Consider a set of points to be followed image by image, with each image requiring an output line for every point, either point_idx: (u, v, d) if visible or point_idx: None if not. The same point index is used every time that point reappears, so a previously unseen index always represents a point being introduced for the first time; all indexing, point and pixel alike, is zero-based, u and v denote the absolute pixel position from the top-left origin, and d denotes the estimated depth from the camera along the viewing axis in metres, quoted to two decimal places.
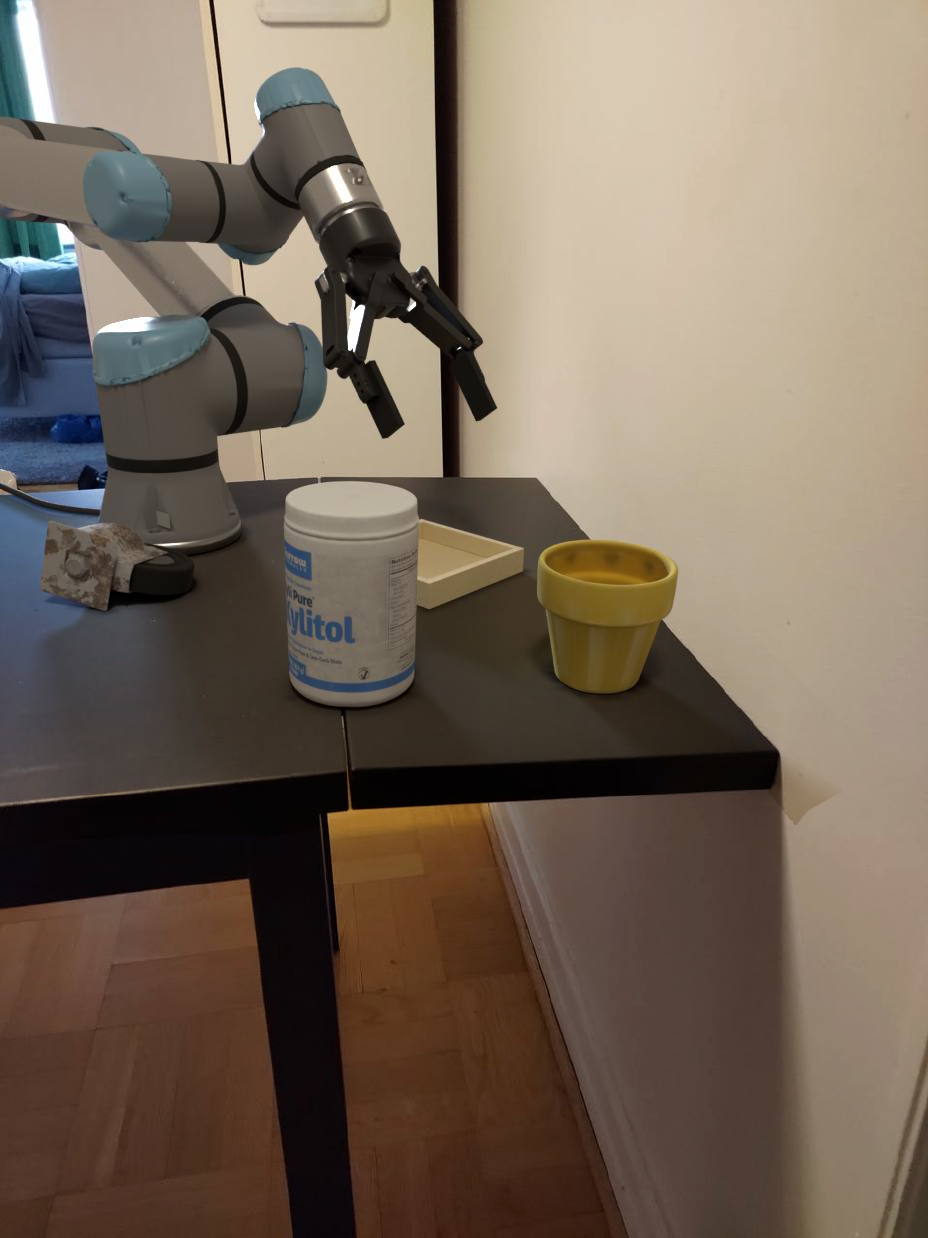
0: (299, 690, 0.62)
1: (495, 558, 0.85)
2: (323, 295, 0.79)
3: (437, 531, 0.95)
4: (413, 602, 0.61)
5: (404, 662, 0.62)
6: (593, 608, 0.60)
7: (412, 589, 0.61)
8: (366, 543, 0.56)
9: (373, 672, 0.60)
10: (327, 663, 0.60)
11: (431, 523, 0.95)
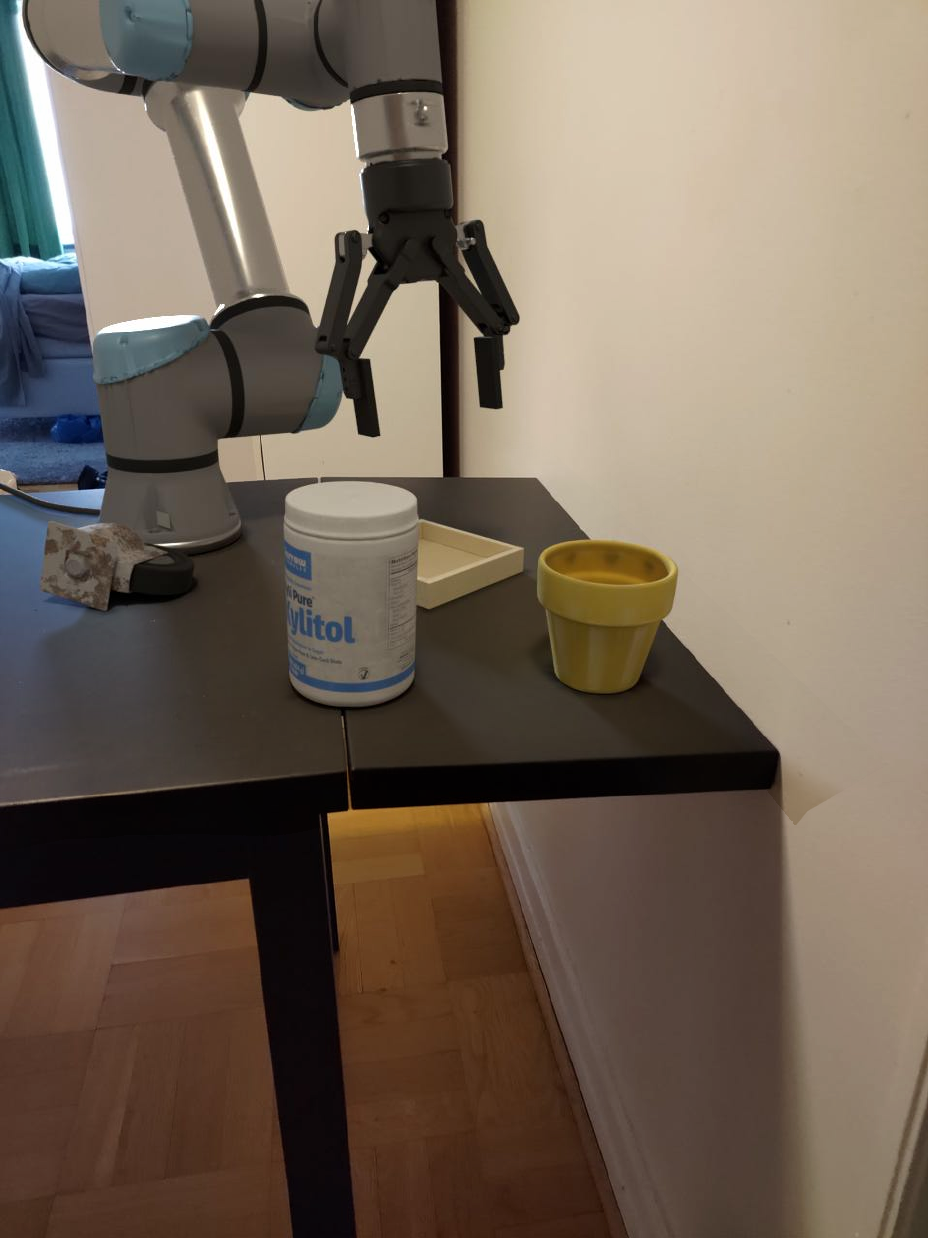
0: (299, 690, 0.62)
1: (495, 558, 0.85)
2: (338, 260, 0.70)
3: (437, 531, 0.95)
4: (413, 602, 0.61)
5: (404, 662, 0.62)
6: (593, 608, 0.60)
7: (412, 589, 0.61)
8: (366, 542, 0.56)
9: (373, 672, 0.60)
10: (327, 663, 0.60)
11: (431, 523, 0.95)
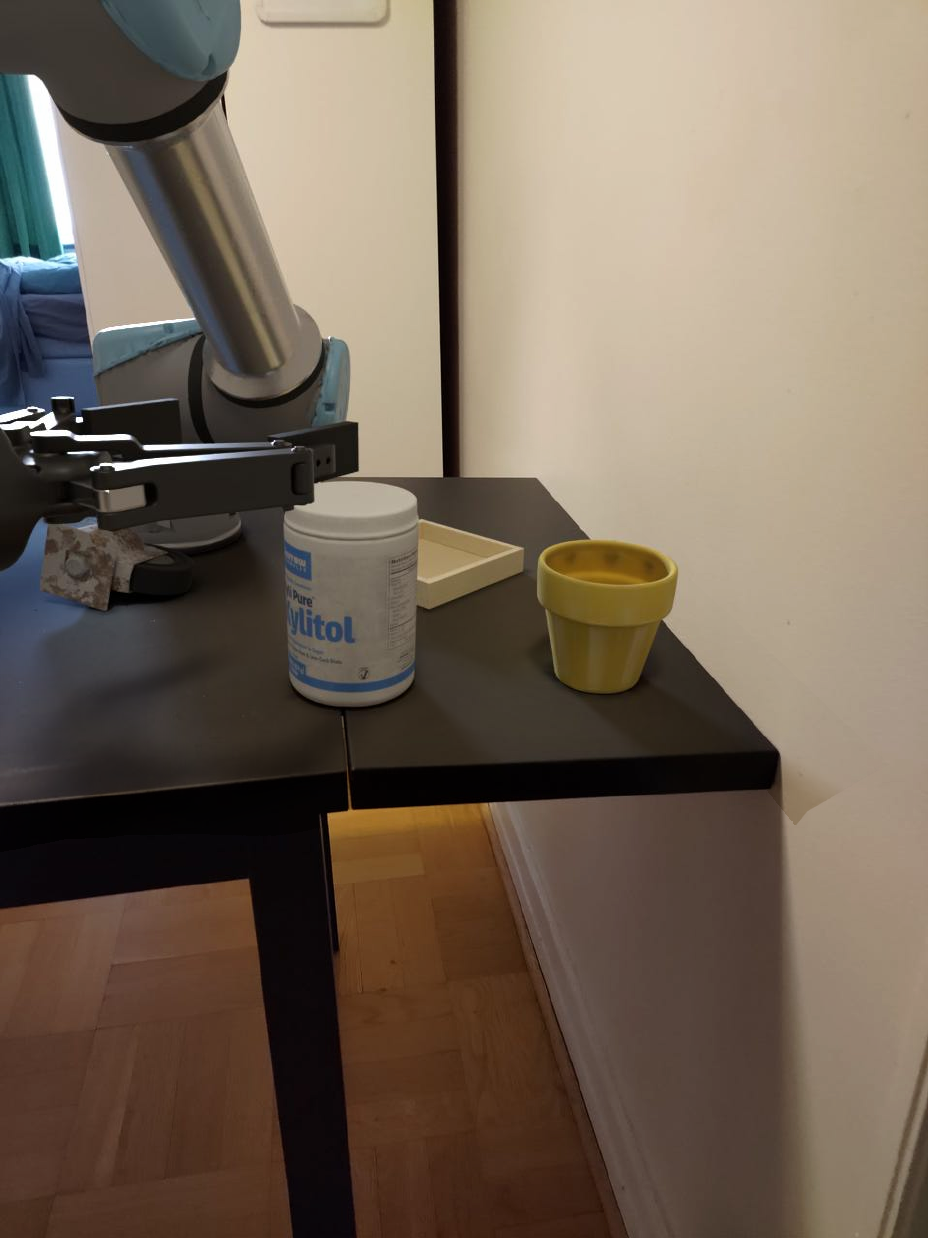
0: (299, 690, 0.62)
1: (495, 558, 0.85)
2: None
3: (437, 531, 0.95)
4: (413, 602, 0.61)
5: (404, 662, 0.62)
6: (593, 608, 0.60)
7: (412, 589, 0.61)
8: (366, 542, 0.56)
9: (373, 672, 0.60)
10: (327, 663, 0.60)
11: (431, 523, 0.95)
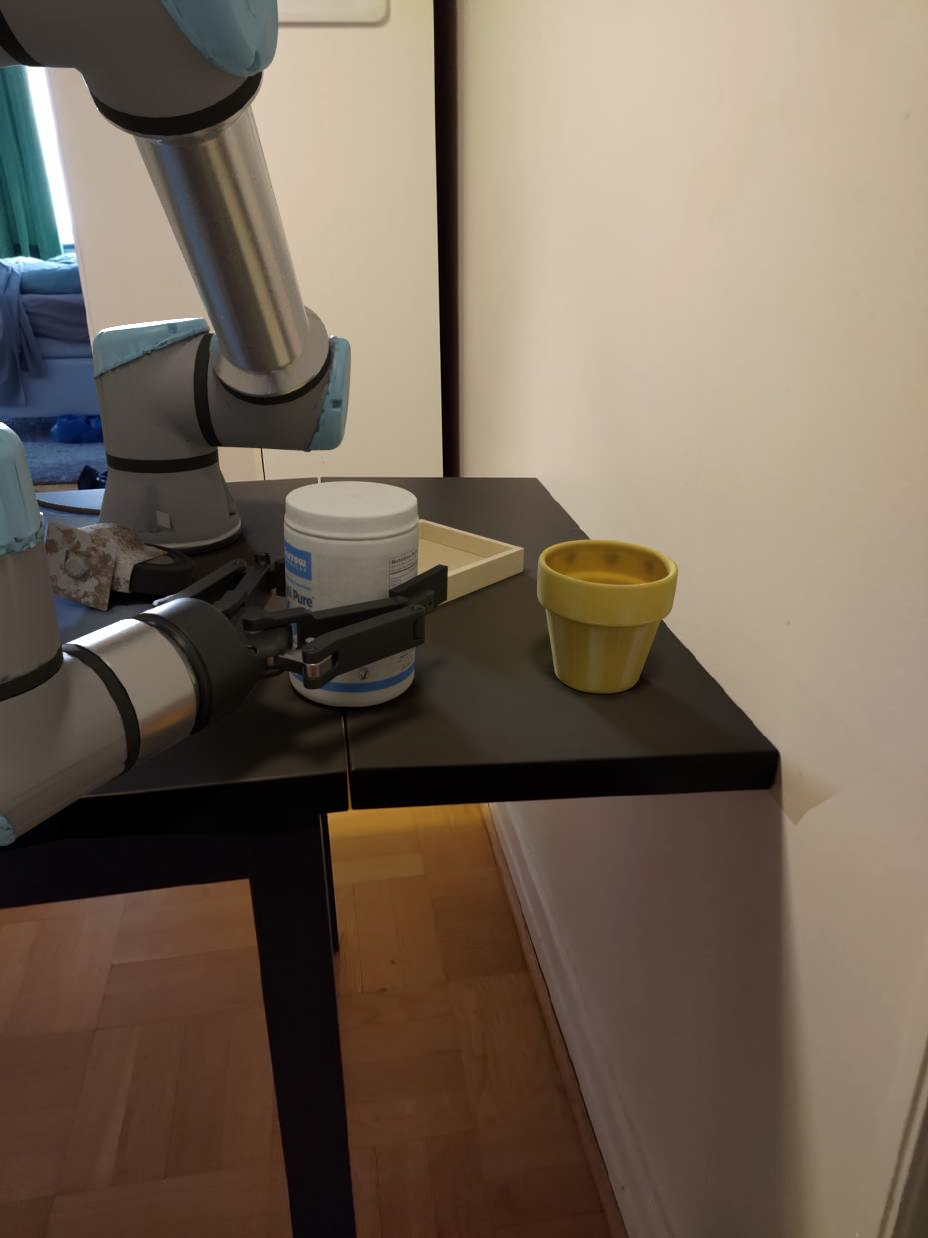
0: (299, 690, 0.62)
1: (495, 558, 0.85)
2: None
3: (437, 531, 0.95)
4: None
5: (404, 662, 0.62)
6: (593, 608, 0.60)
7: None
8: (366, 543, 0.56)
9: (373, 672, 0.60)
10: None
11: (431, 523, 0.95)
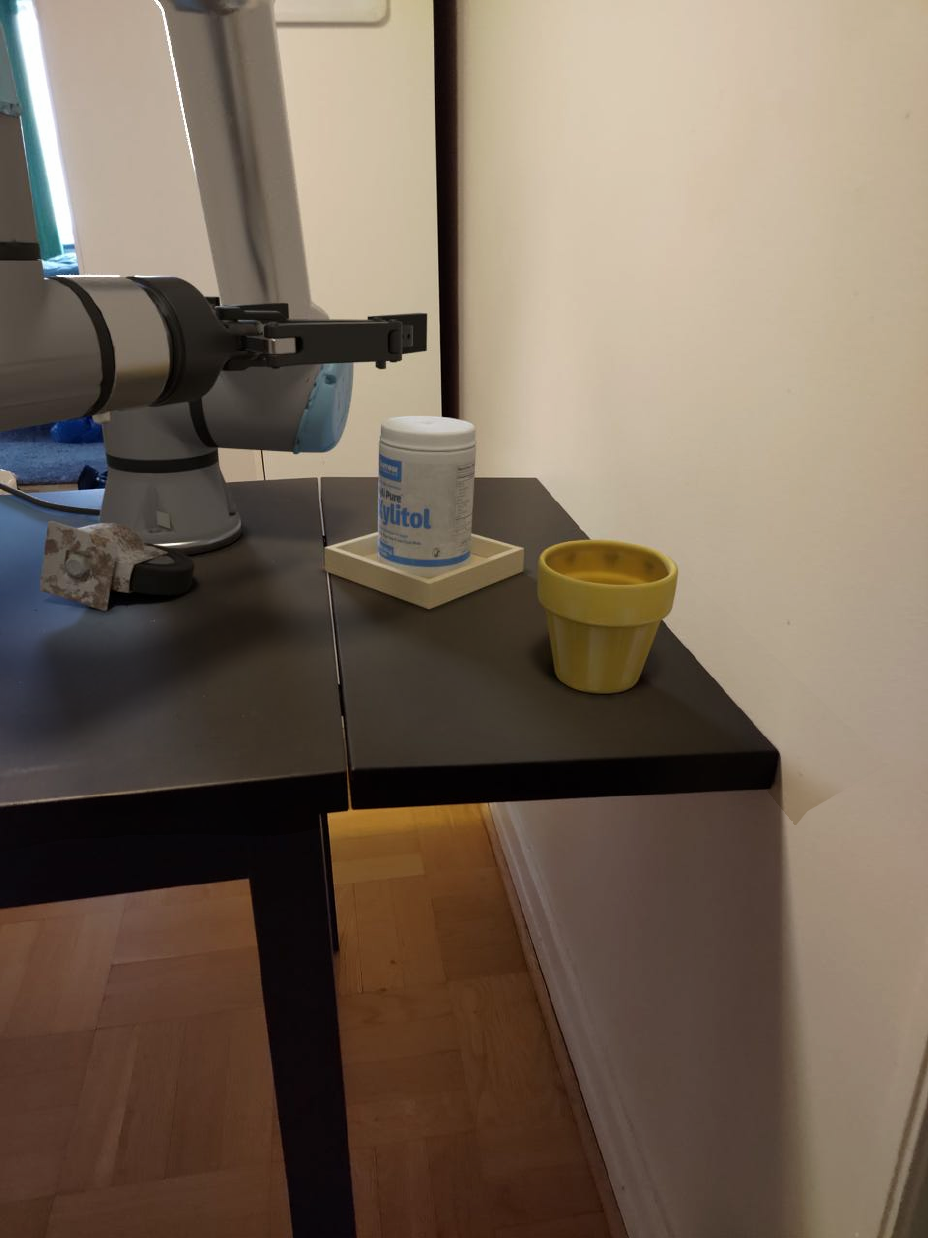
0: None
1: (495, 558, 0.85)
2: None
3: None
4: (471, 502, 0.84)
5: (464, 547, 0.85)
6: (593, 608, 0.60)
7: (471, 492, 0.83)
8: (441, 453, 0.79)
9: (443, 552, 0.83)
10: (410, 544, 0.82)
11: None
